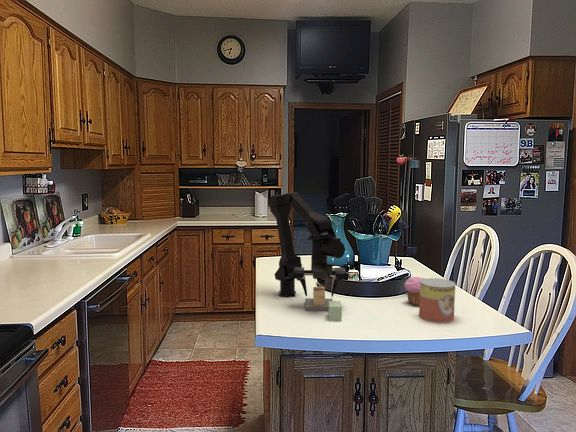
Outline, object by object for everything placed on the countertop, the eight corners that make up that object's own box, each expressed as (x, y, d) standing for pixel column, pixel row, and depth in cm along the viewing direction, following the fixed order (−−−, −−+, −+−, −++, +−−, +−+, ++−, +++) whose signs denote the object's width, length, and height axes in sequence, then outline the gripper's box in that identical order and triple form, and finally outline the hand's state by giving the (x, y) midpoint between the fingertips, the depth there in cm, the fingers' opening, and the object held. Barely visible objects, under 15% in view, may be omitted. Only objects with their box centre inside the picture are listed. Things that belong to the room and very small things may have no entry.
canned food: (434, 325, 148) (435, 288, 147) (411, 314, 159) (412, 280, 157) (461, 320, 153) (463, 284, 151) (437, 310, 163) (439, 276, 162)
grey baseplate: (305, 302, 172) (305, 298, 172) (332, 302, 172) (332, 298, 172) (305, 310, 163) (305, 306, 162) (333, 311, 162) (333, 307, 162)
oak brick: (313, 300, 170) (313, 286, 170) (324, 300, 170) (324, 286, 169) (313, 305, 164) (313, 291, 164) (324, 305, 164) (324, 291, 163)
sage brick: (328, 315, 158) (328, 301, 158) (340, 315, 158) (340, 301, 158) (329, 321, 152) (329, 306, 152) (341, 321, 152) (341, 306, 152)
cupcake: (399, 301, 173) (400, 275, 172) (418, 299, 177) (419, 273, 175) (415, 308, 165) (415, 281, 164) (434, 305, 168) (435, 278, 167)
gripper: (292, 258, 157) (292, 302, 159) (347, 258, 157) (347, 303, 158) (293, 251, 168) (293, 293, 170) (345, 252, 168) (344, 294, 170)
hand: (319, 296), depth 167 cm, fingers open, 9 cm apart
